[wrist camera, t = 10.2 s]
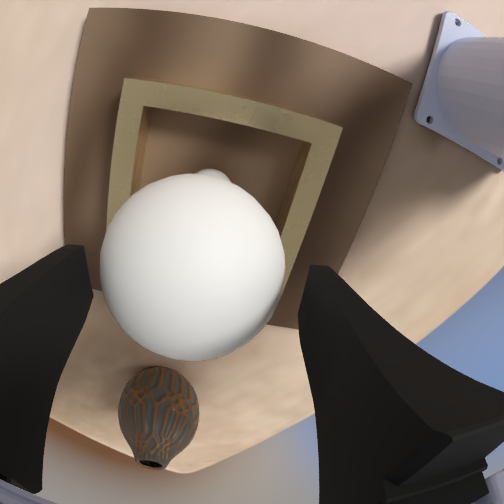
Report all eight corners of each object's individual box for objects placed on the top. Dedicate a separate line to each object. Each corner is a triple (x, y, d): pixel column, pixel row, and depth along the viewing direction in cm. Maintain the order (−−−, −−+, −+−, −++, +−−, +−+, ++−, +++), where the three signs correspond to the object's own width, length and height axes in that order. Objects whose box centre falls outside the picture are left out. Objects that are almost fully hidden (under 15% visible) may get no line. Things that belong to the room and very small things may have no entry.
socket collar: (331, 121, 16) (343, 127, 14) (276, 280, 21) (279, 300, 19) (137, 77, 14) (124, 77, 12) (115, 247, 19) (105, 265, 18)
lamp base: (405, 83, 15) (412, 83, 15) (308, 323, 24) (309, 330, 23) (95, 9, 12) (89, 8, 12) (71, 275, 21) (67, 282, 20)
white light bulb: (187, 250, 19) (150, 409, 10) (137, 161, 17) (29, 279, 7) (282, 213, 18) (323, 369, 9) (240, 113, 15) (240, 178, 6)
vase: (147, 344, 25) (125, 437, 17) (216, 378, 27) (212, 467, 20) (117, 379, 27) (96, 458, 20) (178, 407, 30) (169, 483, 22)
